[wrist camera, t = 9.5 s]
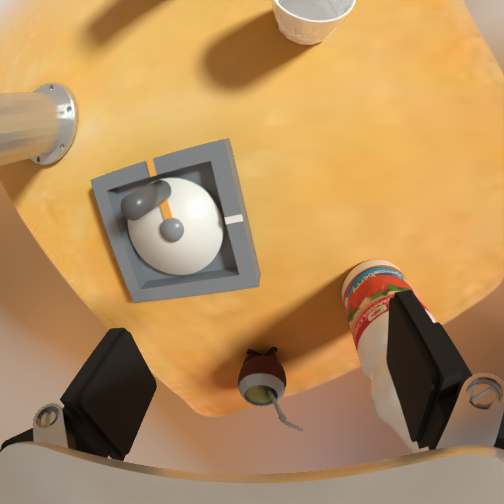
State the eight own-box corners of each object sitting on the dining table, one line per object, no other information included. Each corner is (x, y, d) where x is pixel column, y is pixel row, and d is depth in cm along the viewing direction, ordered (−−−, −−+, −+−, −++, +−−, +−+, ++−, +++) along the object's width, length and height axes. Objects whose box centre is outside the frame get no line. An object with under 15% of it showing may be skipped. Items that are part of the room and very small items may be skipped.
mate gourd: (234, 361, 47) (219, 436, 34) (261, 331, 44) (252, 410, 31) (271, 380, 48) (267, 453, 35) (300, 353, 46) (304, 430, 32)
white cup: (258, 16, 28) (250, -19, 19) (308, -13, 25) (316, -52, 16) (300, 61, 30) (308, 37, 21) (350, 30, 27) (373, 1, 18)
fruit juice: (358, 325, 43) (403, 498, 17) (327, 281, 40) (370, 476, 15) (411, 293, 40) (498, 450, 14) (386, 244, 37) (498, 410, 12)
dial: (235, 262, 39) (222, 301, 30) (149, 276, 41) (121, 312, 32) (210, 165, 34) (187, 178, 26) (120, 191, 36) (80, 210, 28)
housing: (143, 290, 44) (133, 303, 40) (104, 175, 37) (89, 180, 34) (260, 274, 41) (258, 287, 37) (229, 138, 34) (223, 139, 31)
